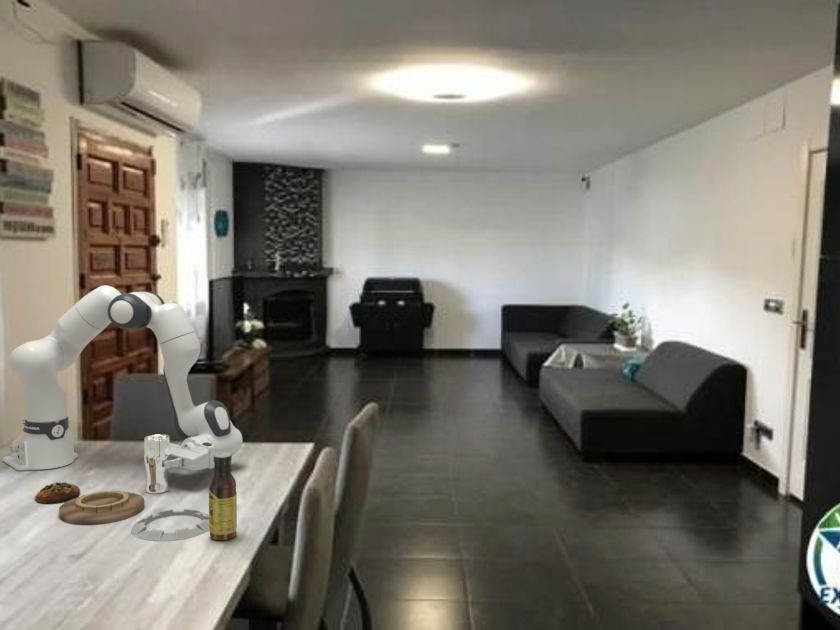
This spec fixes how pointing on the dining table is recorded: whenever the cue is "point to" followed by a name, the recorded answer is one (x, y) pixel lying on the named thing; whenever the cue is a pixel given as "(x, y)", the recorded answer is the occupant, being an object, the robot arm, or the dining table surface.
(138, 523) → the ring
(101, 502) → the round tray
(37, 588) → the dining table surface
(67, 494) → the bread roll
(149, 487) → the beer glass
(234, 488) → the sauce bottle
